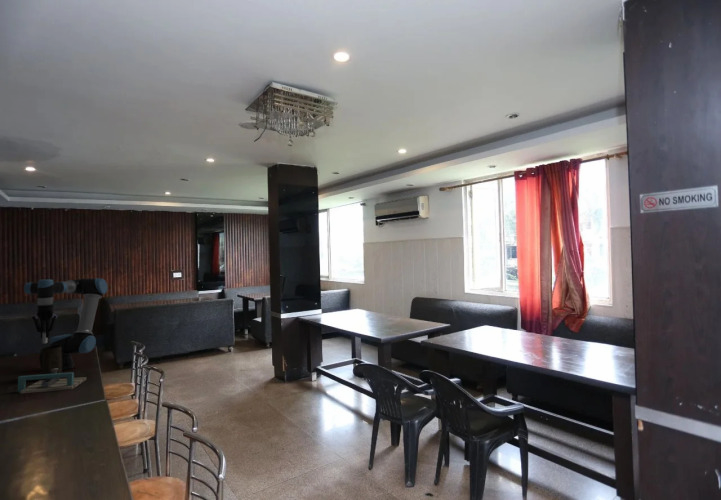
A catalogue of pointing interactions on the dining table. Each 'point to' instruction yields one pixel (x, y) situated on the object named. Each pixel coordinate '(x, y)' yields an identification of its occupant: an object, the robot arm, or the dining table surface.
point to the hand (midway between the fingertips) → (45, 343)
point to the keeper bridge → (44, 376)
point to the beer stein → (50, 360)
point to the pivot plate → (53, 385)
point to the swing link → (49, 382)
